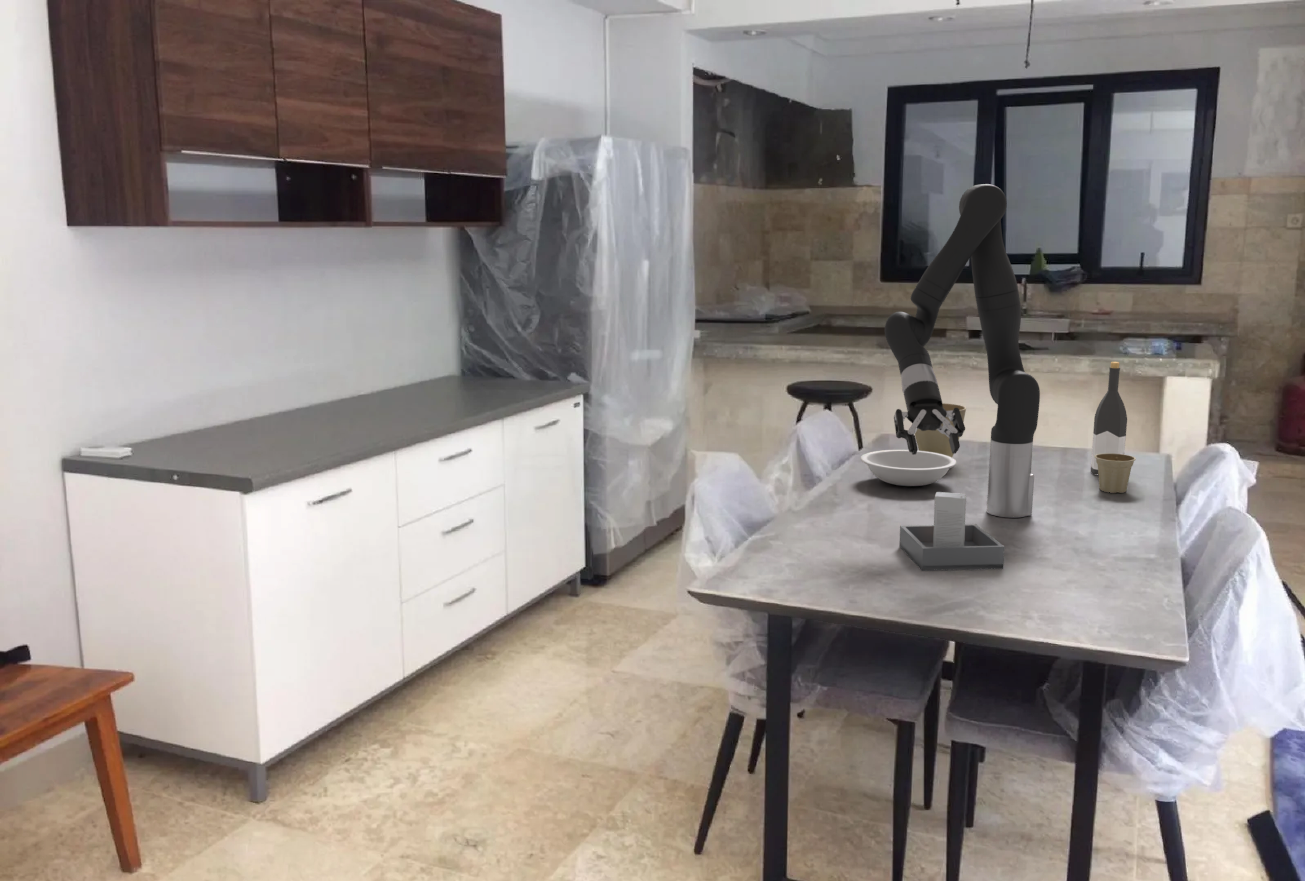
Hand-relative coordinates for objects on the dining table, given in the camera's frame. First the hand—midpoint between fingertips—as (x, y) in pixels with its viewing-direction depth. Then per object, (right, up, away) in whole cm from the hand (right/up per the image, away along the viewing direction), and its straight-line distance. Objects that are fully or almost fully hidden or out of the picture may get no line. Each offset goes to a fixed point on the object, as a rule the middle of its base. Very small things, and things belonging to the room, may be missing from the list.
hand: (935, 452), depth 223 cm
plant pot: (+21, -4, +77) cm, 80 cm away
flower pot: (+56, -10, +44) cm, 72 cm away
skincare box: (0, -20, -8) cm, 22 cm away
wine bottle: (+62, -7, +62) cm, 88 cm away
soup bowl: (+7, -9, +53) cm, 54 cm away
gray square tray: (+1, -21, -8) cm, 23 cm away
